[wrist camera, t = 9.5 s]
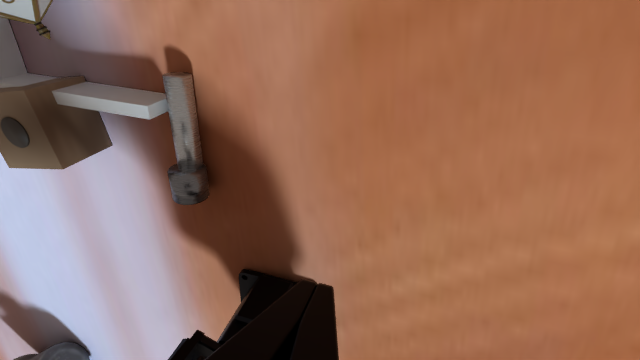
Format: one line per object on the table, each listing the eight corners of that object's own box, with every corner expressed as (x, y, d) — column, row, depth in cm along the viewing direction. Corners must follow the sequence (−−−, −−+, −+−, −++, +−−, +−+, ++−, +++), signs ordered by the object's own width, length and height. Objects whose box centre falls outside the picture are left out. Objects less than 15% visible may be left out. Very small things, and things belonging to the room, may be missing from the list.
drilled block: (112, 145, 25) (61, 170, 22) (62, 145, 27) (7, 168, 24) (83, 75, 23) (21, 90, 20) (31, 80, 25) (-35, 94, 21)
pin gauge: (216, 189, 25) (196, 207, 23) (186, 183, 25) (164, 200, 23) (203, 74, 21) (177, 83, 19) (168, 70, 21) (140, 78, 19)
